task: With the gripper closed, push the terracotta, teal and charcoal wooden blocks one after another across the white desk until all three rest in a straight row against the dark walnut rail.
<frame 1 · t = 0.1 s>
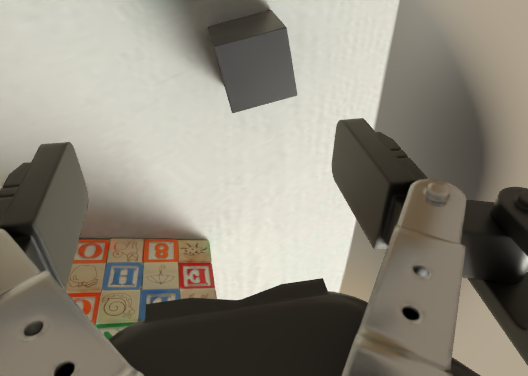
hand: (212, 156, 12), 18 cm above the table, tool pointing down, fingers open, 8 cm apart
block charcoal: (247, 50, 28), on the table
stack of blocks: (94, 260, 38), on the table
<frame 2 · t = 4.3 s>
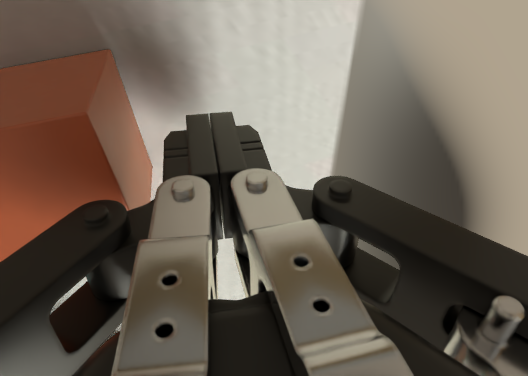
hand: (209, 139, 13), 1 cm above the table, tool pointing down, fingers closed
block terracotta: (67, 126, 13), on the table, touching gripper
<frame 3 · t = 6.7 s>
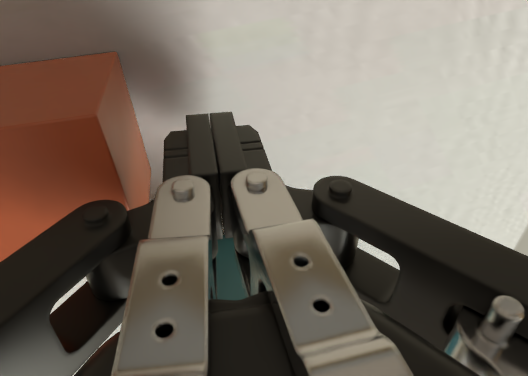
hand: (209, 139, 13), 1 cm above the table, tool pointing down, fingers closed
block terracotta: (68, 126, 13), on the table, touching gripper
block teal: (233, 268, 19), on the table
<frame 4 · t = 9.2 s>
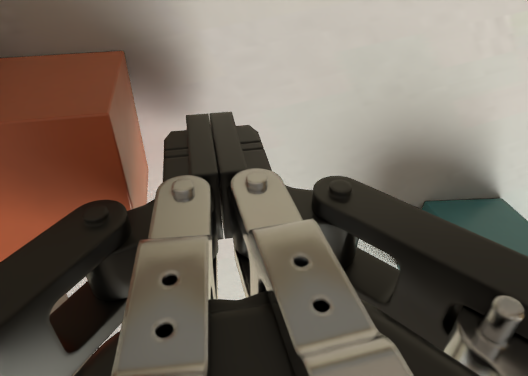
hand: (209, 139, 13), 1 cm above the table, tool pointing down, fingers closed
block terracotta: (68, 121, 13), on the table, touching gripper, rail
block teal: (447, 233, 21), on the table
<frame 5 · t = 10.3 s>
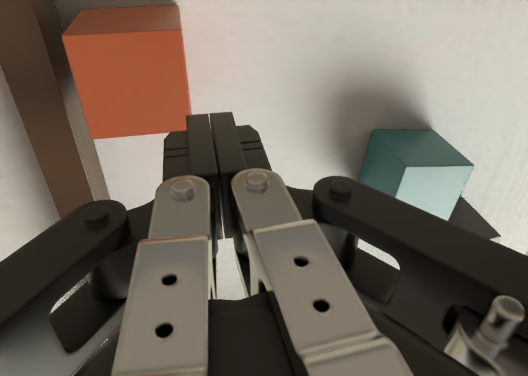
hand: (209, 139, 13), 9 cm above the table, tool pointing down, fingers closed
block terracotta: (139, 54, 20), on the table
block charcoal: (433, 225, 32), on the table
block teal: (393, 158, 27), on the table
rail: (90, 191, 24), on the table
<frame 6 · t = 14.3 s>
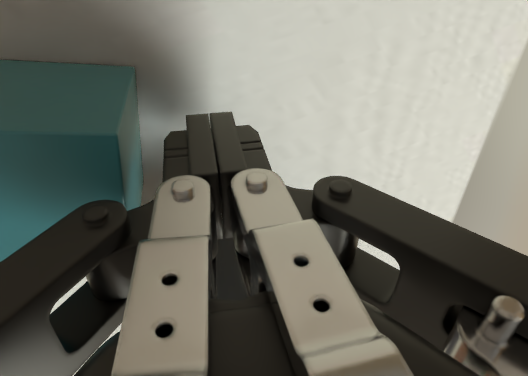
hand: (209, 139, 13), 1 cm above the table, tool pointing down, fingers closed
block charcoal: (236, 251, 18), on the table
block teal: (70, 127, 13), on the table, touching gripper
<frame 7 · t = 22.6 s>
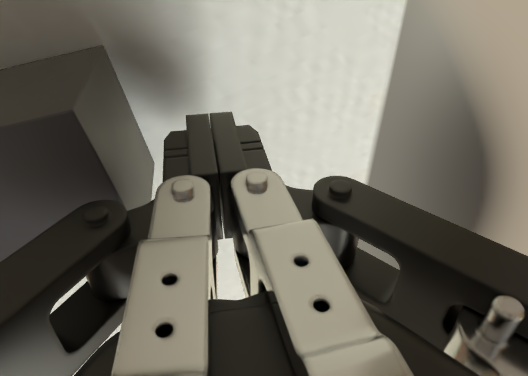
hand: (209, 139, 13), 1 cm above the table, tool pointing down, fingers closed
block charcoal: (66, 126, 13), on the table, touching gripper
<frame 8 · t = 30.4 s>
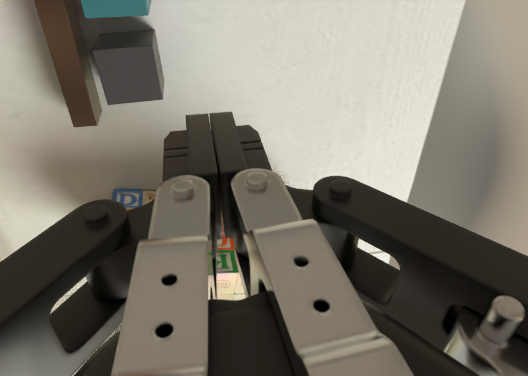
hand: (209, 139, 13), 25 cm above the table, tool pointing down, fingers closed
block charcoal: (133, 57, 35), on the table
stack of blocks: (208, 211, 47), on the table
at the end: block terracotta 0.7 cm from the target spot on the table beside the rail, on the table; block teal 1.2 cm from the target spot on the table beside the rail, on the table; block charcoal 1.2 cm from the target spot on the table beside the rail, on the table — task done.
